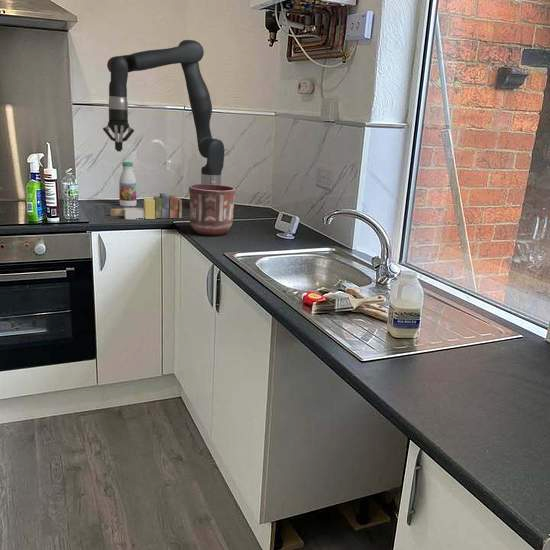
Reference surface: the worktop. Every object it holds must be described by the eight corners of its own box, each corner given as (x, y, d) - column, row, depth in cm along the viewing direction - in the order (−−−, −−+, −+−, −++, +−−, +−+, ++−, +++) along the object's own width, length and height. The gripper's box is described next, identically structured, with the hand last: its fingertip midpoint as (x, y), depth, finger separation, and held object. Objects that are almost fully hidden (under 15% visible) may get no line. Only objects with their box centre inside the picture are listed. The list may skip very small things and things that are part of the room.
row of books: (180, 215, 253) (180, 192, 250) (184, 218, 246) (184, 195, 243) (110, 215, 243) (110, 192, 240) (112, 219, 236) (111, 195, 233)
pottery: (196, 238, 213) (198, 190, 208) (182, 228, 228) (183, 183, 223) (240, 237, 221) (242, 190, 216) (223, 227, 236) (225, 183, 231)
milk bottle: (118, 204, 269) (117, 161, 263) (134, 203, 272) (134, 161, 266) (121, 207, 262) (120, 163, 256) (138, 206, 265) (137, 163, 260)
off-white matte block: (142, 216, 246) (142, 207, 245) (144, 219, 241) (144, 210, 239) (123, 216, 243) (123, 207, 242) (125, 219, 238) (125, 210, 237)
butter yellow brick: (153, 217, 246) (153, 198, 243) (154, 219, 241) (155, 200, 239) (143, 217, 244) (143, 198, 242) (145, 219, 240) (145, 200, 237)
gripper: (102, 107, 227) (103, 151, 232) (135, 109, 231) (136, 152, 237) (100, 107, 234) (101, 149, 239) (133, 108, 238) (133, 150, 243)
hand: (118, 151), depth 238 cm, fingers closed
